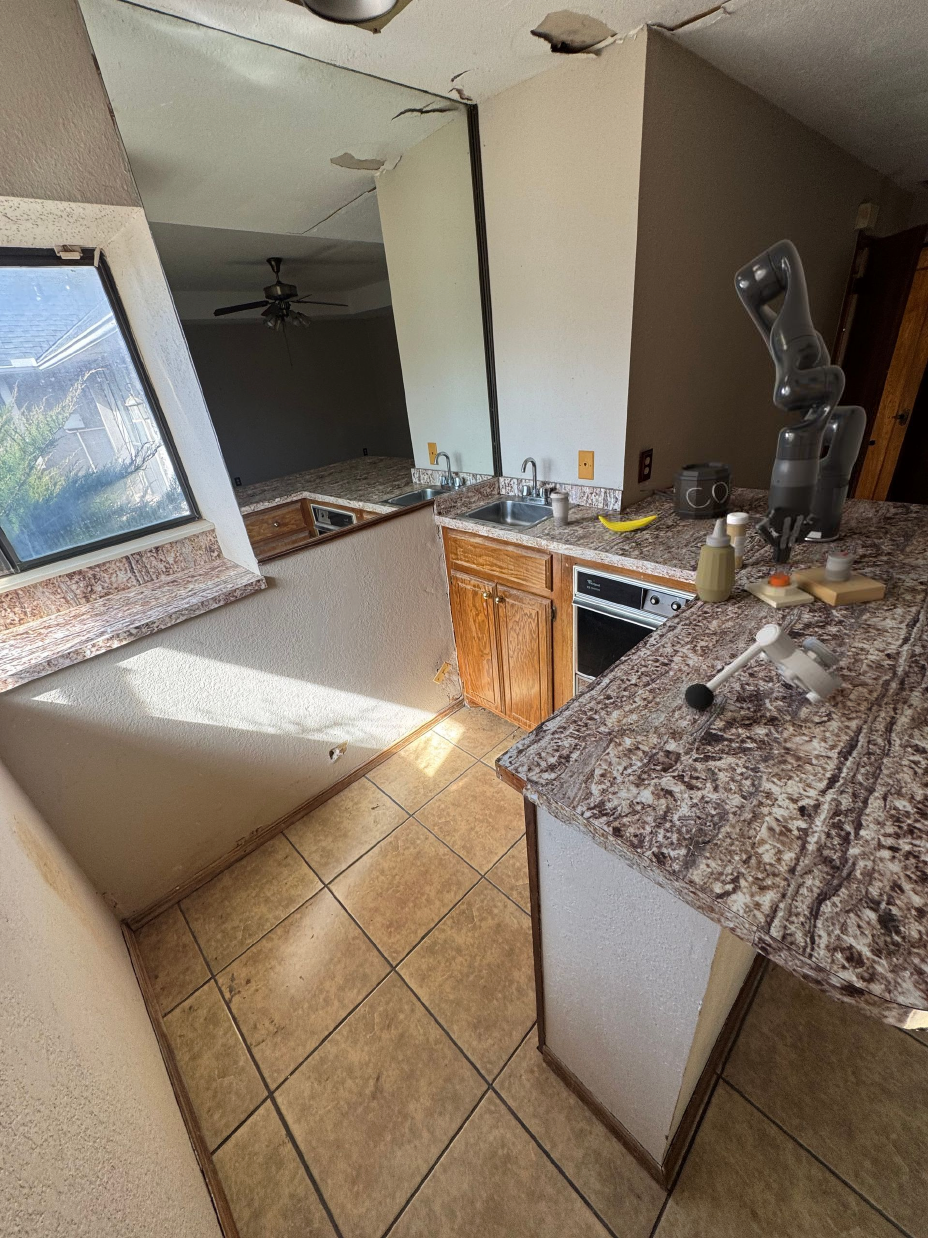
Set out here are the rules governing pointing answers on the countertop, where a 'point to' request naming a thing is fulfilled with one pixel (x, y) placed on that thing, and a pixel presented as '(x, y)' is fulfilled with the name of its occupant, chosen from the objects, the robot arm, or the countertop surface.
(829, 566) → the knob
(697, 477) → the octagonal grey canister
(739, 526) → the sprinkles bottle
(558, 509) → the cup
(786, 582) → the button
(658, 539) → the countertop surface
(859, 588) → the panel
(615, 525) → the banana
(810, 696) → the valve
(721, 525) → the squeeze bottle
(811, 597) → the button block
